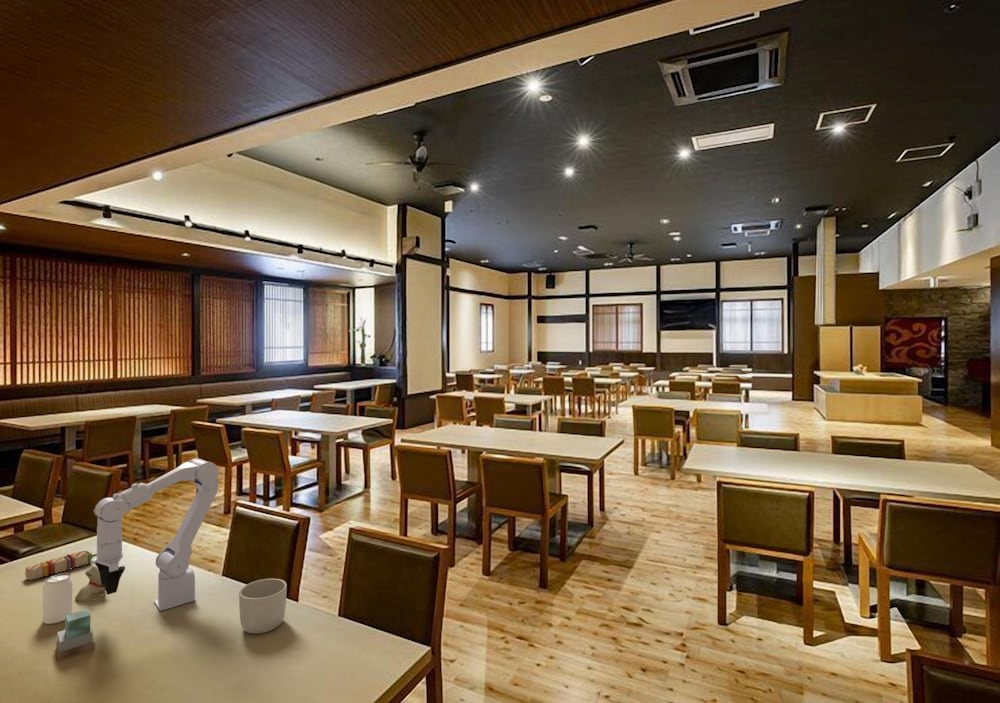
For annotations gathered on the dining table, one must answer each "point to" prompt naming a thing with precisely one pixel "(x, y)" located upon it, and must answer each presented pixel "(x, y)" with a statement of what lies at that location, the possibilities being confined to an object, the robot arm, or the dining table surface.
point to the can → (57, 598)
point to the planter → (262, 605)
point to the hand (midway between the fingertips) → (109, 588)
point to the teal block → (77, 623)
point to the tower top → (73, 640)
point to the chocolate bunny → (92, 586)
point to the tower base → (75, 650)
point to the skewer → (59, 564)
